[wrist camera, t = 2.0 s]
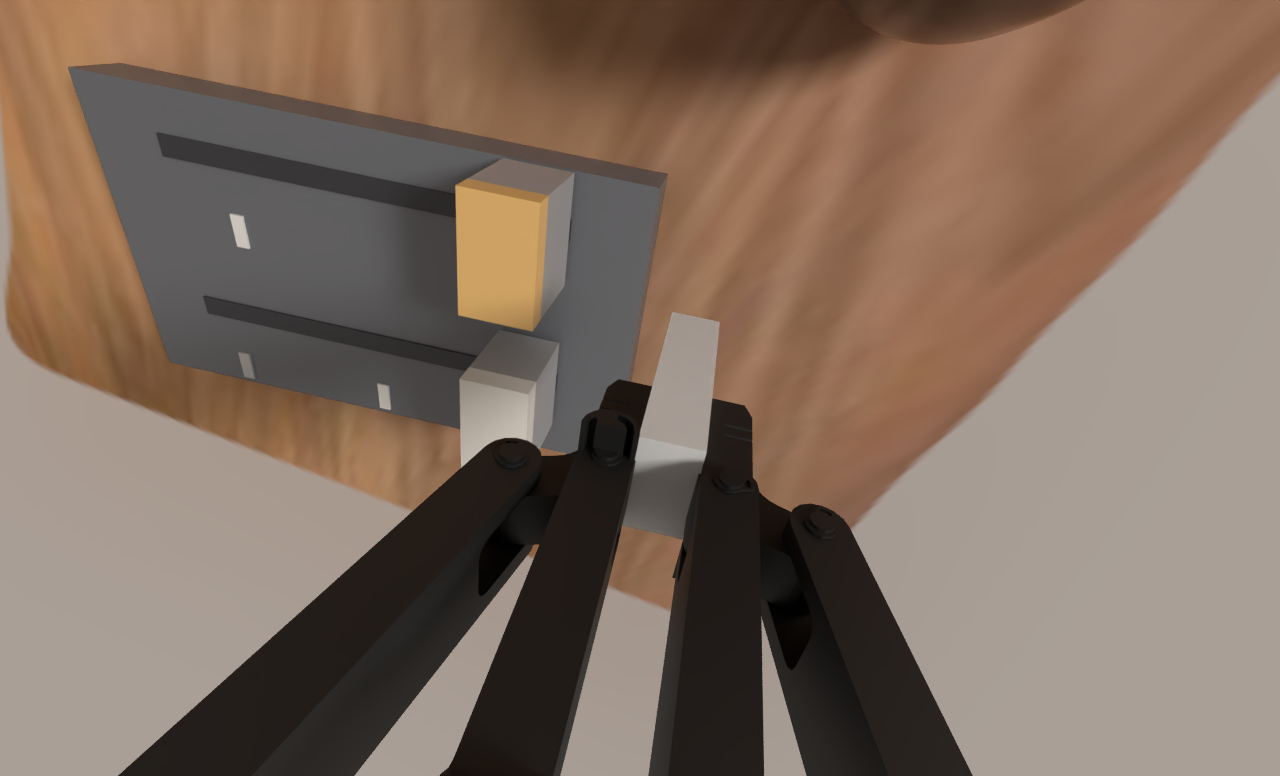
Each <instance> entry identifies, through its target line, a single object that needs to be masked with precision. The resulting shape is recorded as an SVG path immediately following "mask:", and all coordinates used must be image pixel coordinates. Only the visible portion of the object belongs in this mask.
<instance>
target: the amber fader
mask: <svg viewBox="0 0 1280 776" xmlns="http://www.w3.org/2000/svg"><path fill="white" fill-rule="evenodd" d="M574 174H575V173H574V172H569V171H564V170H559V169H554V168H549V167H545V166H540V165H535V164H530V163H525V162H520V161H515V160H510V159H505V158H503V159H501V160H499V161H497V162H496V163H494V164H492V165H490V166H488V167H487V168H485V169H483V170H481V171H480V172H478V173H476V174H474V175H473V176H471V177H469V178H467V179H466V180H464V181H462V182H460V183H459V184H457V185H455V189H456V237H457V286H458V315H459V316H464V317H469V318H473V319H478V320H482V321H487V322H491V323H496V324H500V325H505V326H510V327H514V328H519V329H523V330H528V331H532V332H533V330H534V329H535V327H536V326H537V324H538V323H539V322H540V320H541V319H542V317H543V316H544V314H545V313H546V312H547V310H548V309H549V307H550V306H551V304H552V303H553V301H554V300H555V299H556V297H557V296H558V294H559V293H560V291H561V290H562V289H563V287H564V285H565V274H566V263H567V252H568V241H569V230H570V218H571V207H572V196H573V185H574Z"/></svg>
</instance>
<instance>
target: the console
mask: <svg viewBox="0 0 1280 776" xmlns="http://www.w3.org/2000/svg"><path fill="white" fill-rule="evenodd" d="M68 70H69V73H70V75H71V78H72V81H73V84H74V87H75V90H76V93H77V96H78V99H79V101H80V104H81V107H82V110H83V113H84V116H85V119H86V122H87V125H88V127H89V130H90V133H91V136H92V139H93V142H94V145H95V148H96V151H97V154H98V156H99V159H100V162H101V165H102V168H103V171H104V174H105V177H106V180H107V182H108V185H109V188H110V191H111V194H112V197H113V200H114V203H115V206H116V208H117V211H118V214H119V217H120V220H121V223H122V226H123V229H124V232H125V235H126V237H127V240H128V243H129V246H130V249H131V252H132V255H133V258H134V261H135V263H136V266H137V269H138V272H139V275H140V278H141V281H142V284H143V287H144V289H145V292H146V295H147V298H148V301H149V304H150V307H151V310H152V313H153V316H154V318H155V321H156V324H157V327H158V330H159V333H160V336H161V339H162V342H163V344H164V347H165V350H166V353H167V356H168V359H169V362H171V363H175V364H180V365H184V366H188V367H193V368H197V369H201V370H206V371H210V372H215V373H219V374H223V375H228V376H232V377H236V378H241V379H245V380H249V381H254V382H258V383H262V384H267V385H271V386H275V387H280V388H284V389H289V390H293V391H297V392H302V393H306V394H310V395H315V396H319V397H323V398H328V399H332V400H336V401H341V402H345V403H349V404H354V405H358V406H363V407H367V408H371V409H376V410H380V411H384V412H389V413H393V414H397V415H402V416H406V417H410V418H415V419H419V420H424V421H428V422H432V423H437V424H441V425H445V426H450V427H454V428H458V429H460V382H459V379H460V378H461V376H462V375H463V374H464V373H465V371H466V370H467V369H468V368H469V367H470V365H471V364H472V363H473V362H474V360H475V359H476V358H477V357H478V355H479V354H480V353H481V352H482V350H483V349H484V348H485V347H486V345H487V344H488V343H489V342H490V341H491V339H492V338H493V337H494V336H495V334H496V333H497V332H498V331H499V330H503V331H508V332H512V333H517V334H521V335H526V336H530V337H535V338H539V339H544V340H548V341H553V342H558V343H559V352H558V363H557V374H556V386H555V397H554V408H553V419H552V426H551V428H550V430H549V432H548V434H547V436H546V438H545V440H544V442H543V444H542V446H541V448H545V449H550V450H554V451H559V452H563V453H567V454H570V453H572V452H574V451H577V450H578V444H579V436H580V428H581V420H582V419H583V418H584V417H585V416H586V414H588V413H591V412H593V411H595V410H598V409H599V407H600V404H601V402H602V400H603V397H604V394H605V392H606V389H607V387H608V386H610V385H611V384H612V383H614V382H615V381H616V380H618V379H620V380H625V381H629V382H631V379H632V373H633V367H634V362H635V356H636V350H637V345H638V339H639V333H640V327H641V322H642V316H643V310H644V305H645V299H646V293H647V288H648V282H649V276H650V271H651V265H652V259H653V254H654V248H655V242H656V237H657V231H658V225H659V220H660V214H661V208H662V202H663V197H664V191H665V185H666V180H667V174H664V173H659V172H654V171H649V170H644V169H640V168H635V167H630V166H625V165H620V164H615V163H610V162H605V161H600V160H595V159H590V158H585V157H580V156H576V155H571V154H566V153H561V152H556V151H551V150H546V149H541V148H536V147H531V146H526V145H521V144H516V143H512V142H507V141H502V140H497V139H492V138H487V137H482V136H477V135H472V134H467V133H462V132H457V131H452V130H448V129H443V128H438V127H433V126H428V125H423V124H418V123H413V122H408V121H403V120H398V119H393V118H388V117H383V116H379V115H374V114H369V113H364V112H359V111H354V110H349V109H344V108H339V107H334V106H329V105H324V104H319V103H315V102H310V101H305V100H300V99H295V98H290V97H285V96H280V95H275V94H270V93H265V92H260V91H255V90H251V89H246V88H241V87H236V86H231V85H226V84H221V83H216V82H211V81H206V80H201V79H196V78H191V77H187V76H182V75H177V74H172V73H167V72H162V71H157V70H152V69H147V68H142V67H137V66H132V65H127V64H122V63H114V64H101V65H87V66H74V67H68ZM503 158H505V159H510V160H515V161H520V162H525V163H530V164H535V165H540V166H545V167H549V168H554V169H559V170H564V171H569V172H574V173H575V174H574V185H573V196H572V207H571V218H570V230H569V241H568V252H567V263H566V274H565V285H564V287H563V289H562V290H561V291H560V293H559V294H558V296H557V297H556V299H555V300H554V301H553V303H552V304H551V306H550V307H549V309H548V310H547V312H546V313H545V314H544V316H543V317H542V319H541V320H540V322H539V323H538V324H537V326H536V327H535V329H534V330H533V332H532V331H528V330H523V329H519V328H514V327H510V326H505V325H500V324H496V323H491V322H487V321H482V320H478V319H473V318H469V317H464V316H459V315H458V286H457V237H456V189H455V185H457V184H459V183H460V182H462V181H464V180H466V179H467V178H469V177H471V176H473V175H474V174H476V173H478V172H480V171H481V170H483V169H485V168H487V167H488V166H490V165H492V164H494V163H496V162H497V161H499V160H501V159H503Z"/></svg>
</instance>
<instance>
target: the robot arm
mask: <svg viewBox="0 0 1280 776" xmlns="http://www.w3.org/2000/svg"><path fill="white" fill-rule="evenodd" d="M719 325H720V322H717V321H712V320H707V319H703V318H698V317H693V316H689V315H684V314H679V313H675V312H672V315H671V319H670V323H669V326H668V330H667V334H666V337H665V341H664V345H663V349H662V352H661V356H660V360H659V363H658V367H657V371H656V375H655V378H654V382H653V386H648V385H643V384H638V383H634V382H629V381H625V380H620V379H618V380H616V381H615V382H614V383H612V384H611V385H610V386H608V387H607V389H606V392H605V394H604V397H603V400H602V402H601V404H600V407H599V409H598V410H595V411H593V412H591V413H588V414H586V416H585V417H584V418H583V419H582V420H581V428H580V436H579V444H578V450H577V451H574V452H572V453H570V454H566V455H559V456H541V452H540V451H539V449H538V448H537V446H536V445H534V444H532V443H531V442H529V441H527V440H523V439H519V438H503V439H499V440H495V441H493V442H491V443H490V444H488V445H486V446H485V447H484V448H483V449H482V450H481V451H479V452H478V453H477V454H476V455H475V456H474V457H473V458H472V459H470V460H469V461H468V462H467V463H466V464H465V465H464V466H463V467H462V468H460V469H459V470H458V471H457V472H456V473H455V474H454V475H453V476H452V477H450V478H449V479H448V480H447V481H446V482H445V483H444V484H443V485H442V486H440V487H439V488H438V489H437V490H436V491H435V492H434V493H433V494H431V495H430V496H429V497H428V498H427V499H426V500H425V501H424V502H423V503H421V504H420V505H419V506H418V507H417V508H416V509H415V510H414V511H413V512H411V513H410V514H409V515H408V516H407V517H406V518H405V519H404V520H403V521H401V522H400V523H399V524H398V525H397V526H396V527H395V528H394V529H393V530H391V531H390V532H389V533H388V534H387V535H386V536H385V537H384V538H382V539H381V540H380V541H379V542H378V543H377V544H376V545H375V546H374V547H372V548H371V549H370V550H369V551H368V552H367V553H366V554H365V555H364V556H362V557H361V558H360V559H359V560H358V561H357V562H356V563H355V564H354V565H352V566H351V567H350V568H349V569H348V570H347V571H346V572H345V573H343V574H342V575H341V576H340V577H339V578H338V579H337V580H336V581H335V582H334V583H332V584H331V585H330V586H329V587H328V588H327V589H326V590H325V591H323V592H322V593H321V594H320V595H319V596H318V597H317V598H316V599H315V600H313V601H312V602H311V603H310V604H309V605H308V606H307V607H306V608H305V609H303V610H302V611H301V612H300V613H299V614H298V615H297V616H296V617H295V618H293V619H292V620H291V621H290V622H289V623H288V624H287V625H285V626H284V627H283V628H282V629H281V630H280V631H279V632H278V633H277V634H276V635H274V636H273V637H272V638H271V639H270V640H269V641H268V642H267V643H265V644H264V645H263V646H262V647H261V648H260V649H259V650H258V651H257V652H255V654H253V655H252V656H251V657H250V658H249V659H248V660H246V661H245V662H244V663H243V664H242V665H241V666H240V667H239V668H238V669H236V670H235V671H234V672H233V673H232V674H231V675H230V676H229V677H228V678H226V680H224V681H223V682H222V683H221V684H220V685H219V686H218V687H216V688H215V689H214V690H213V691H212V692H211V693H210V694H209V695H208V696H206V697H205V698H204V699H203V700H202V701H201V702H200V703H199V704H198V705H196V706H195V707H194V708H193V709H192V710H191V711H190V712H189V713H187V715H185V716H184V717H183V718H182V719H181V720H180V721H179V722H177V724H175V725H174V726H173V727H172V728H171V729H170V730H168V731H167V732H166V733H165V734H164V735H163V736H162V737H161V738H160V739H159V740H157V741H156V742H155V743H154V744H153V745H152V746H151V747H150V748H148V749H147V750H146V751H145V752H144V753H143V754H142V755H141V756H140V757H139V758H137V759H136V760H135V761H134V762H133V763H132V764H131V765H130V766H128V767H127V768H126V769H125V770H124V771H123V772H122V773H121V774H119V775H118V776H354V775H355V774H356V773H357V771H358V770H359V769H360V768H361V766H362V765H363V764H364V762H365V761H366V760H367V759H368V757H369V756H370V755H371V754H372V752H373V751H374V750H375V749H376V747H377V746H378V745H379V743H380V742H381V741H382V740H383V738H384V737H385V736H386V735H387V733H388V732H389V731H390V729H391V728H392V727H393V726H394V724H395V723H396V721H398V719H399V718H400V717H401V715H402V714H403V713H404V712H405V710H406V709H407V708H408V706H409V705H410V704H411V703H412V701H413V700H414V699H415V698H416V696H417V695H418V694H419V692H420V691H421V690H422V689H423V687H424V686H425V685H426V684H427V682H428V681H429V680H430V678H431V677H432V676H433V675H434V673H435V672H436V671H437V670H438V668H439V667H440V666H441V664H442V663H443V662H444V661H445V659H446V658H447V657H448V656H449V654H450V653H451V652H452V650H453V649H454V648H455V647H456V645H457V644H458V643H459V642H460V640H461V639H462V638H463V636H464V635H465V634H466V633H467V631H468V630H469V629H470V628H471V626H472V625H473V624H474V622H475V621H476V620H477V619H478V617H479V616H480V615H481V614H482V612H483V611H484V610H485V608H486V607H487V606H488V605H489V603H490V602H491V601H492V599H493V598H494V597H495V596H496V594H497V593H498V592H499V591H500V589H501V588H502V587H503V585H504V584H505V583H506V582H507V580H508V579H509V578H510V577H511V575H512V574H513V573H514V571H515V570H516V569H517V567H518V566H519V565H520V564H521V563H522V561H523V560H524V559H525V557H526V556H527V555H528V554H529V552H530V551H531V549H532V547H533V545H534V544H540V545H539V547H538V550H537V552H536V555H535V557H534V560H533V562H532V565H531V567H530V570H529V572H528V575H527V577H526V580H525V582H524V585H523V587H522V590H521V592H520V595H519V597H518V600H517V602H516V605H515V607H514V610H513V612H512V615H511V617H510V620H509V622H508V625H507V627H506V629H505V632H504V634H503V637H502V640H501V642H500V644H499V647H498V650H497V652H496V655H495V657H494V659H493V662H492V664H491V667H490V669H489V672H488V675H487V677H486V679H485V682H484V684H483V687H482V689H481V692H480V694H479V697H478V699H477V702H476V704H475V707H474V709H473V712H472V714H471V717H470V719H469V722H468V724H467V727H466V729H465V732H464V734H463V737H462V739H461V742H460V744H459V747H458V749H457V752H456V754H455V756H454V759H453V761H452V762H451V764H450V766H449V768H448V769H446V770H445V771H444V772H443V773H441V774H440V776H560V774H561V770H562V766H563V762H564V758H565V754H566V750H567V746H568V742H569V738H570V734H571V730H572V726H573V722H574V718H575V714H576V710H577V706H578V702H579V698H580V694H581V690H582V686H583V682H584V678H585V674H586V670H587V666H588V662H589V658H590V654H591V650H592V646H593V642H594V638H595V634H596V630H597V626H598V622H599V618H600V614H601V610H602V606H603V602H604V598H605V594H606V590H607V586H608V582H609V578H610V574H611V570H612V566H613V562H614V558H615V554H616V550H617V546H618V542H619V537H620V532H621V527H622V525H623V526H628V527H632V528H636V529H640V530H645V531H649V532H653V533H658V534H662V535H666V536H670V537H675V538H679V539H682V538H683V542H682V546H681V549H680V553H679V556H678V560H677V563H676V567H675V570H674V574H673V577H672V578H676V579H675V586H674V593H673V601H672V608H671V615H670V623H669V630H668V637H667V645H666V652H665V660H664V667H663V674H662V681H661V688H660V695H659V703H658V711H657V717H656V725H655V732H654V739H653V747H652V754H651V761H650V768H649V776H764V748H763V747H764V746H763V694H762V693H763V691H762V637H761V636H762V631H761V616H762V620H763V623H764V627H765V630H766V634H767V637H768V641H769V644H770V648H771V652H772V655H773V658H774V662H775V666H776V669H777V673H778V676H779V680H780V683H781V687H782V690H783V694H784V697H785V701H786V705H787V708H788V712H789V715H790V719H791V722H792V725H793V729H794V732H795V736H796V740H797V743H798V747H799V750H800V754H801V758H802V761H803V765H804V768H805V772H806V775H807V776H972V774H971V771H970V769H969V767H968V765H967V764H966V761H965V759H964V757H963V755H962V753H961V751H960V749H959V748H958V745H957V743H956V741H955V739H954V737H953V735H952V733H951V731H950V729H949V727H948V725H947V723H946V721H945V719H944V717H943V715H942V713H941V711H940V709H939V707H938V705H937V703H936V701H935V699H934V697H933V695H932V693H931V691H930V689H929V687H928V685H927V683H926V681H925V679H924V677H923V675H922V673H921V671H920V669H919V667H918V665H917V663H916V661H915V659H914V657H913V655H912V653H911V651H910V649H909V647H908V645H907V643H906V641H905V639H904V636H903V635H902V632H901V630H900V628H899V626H898V624H897V622H896V620H895V618H894V616H893V614H892V612H891V610H890V608H889V606H888V604H887V602H886V600H885V598H884V596H883V594H882V592H881V590H880V588H879V586H878V584H877V582H876V580H875V578H874V576H873V574H872V572H871V570H870V568H869V566H868V564H867V562H866V560H865V558H864V556H863V554H862V552H861V550H860V548H859V546H858V544H857V542H856V540H855V538H854V536H853V534H852V532H851V530H850V528H849V526H848V525H847V523H846V522H845V521H844V519H843V518H841V517H840V516H839V515H838V514H836V513H835V512H834V511H832V510H830V509H828V508H825V507H823V506H820V505H815V504H803V505H799V506H797V507H796V508H794V509H793V511H792V512H790V511H788V510H786V509H784V508H782V507H779V506H777V505H776V504H774V503H772V502H770V501H769V500H768V499H766V498H765V497H764V496H763V495H762V494H761V493H760V492H759V488H758V485H757V482H756V481H755V480H754V478H753V463H752V417H751V415H750V414H749V412H748V410H747V409H746V407H745V406H744V405H739V404H735V403H730V402H726V401H721V400H717V399H712V395H713V385H714V375H715V365H716V355H717V345H718V335H719ZM683 534H684V537H683Z"/></svg>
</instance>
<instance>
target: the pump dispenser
mask: <svg viewBox="0 0 1280 776" xmlns="http://www.w3.org/2000/svg"><path fill="white" fill-rule="evenodd" d="M833 1H834V2H835V3H836V4H837V5H838V6H839V7H840V8H841V9H842V10H843V11H844V12H846V13H847V14H848V15H849V16H850V17H852V18H853V19H854V20H856V21H857V22H859V23H860V24H862V25H863V26H865V27H867V28H869V29H871V30H873V31H875V32H877V33H879V34H882V35H884V36H887V37H890V38H893V39H897V40H901V41H905V42H911V43H918V44H931V45H945V44H958V43H966V42H972V41H978V40H982V39H987V38H991V37H994V36H998V35H1001V34H1005V33H1008V32H1011V31H1014V30H1017V29H1020V28H1023V27H1025V26H1028V25H1031V24H1034V23H1036V22H1039V21H1041V20H1044V19H1046V18H1049V17H1051V16H1054V15H1056V14H1058V13H1060V12H1062V11H1065V10H1067V9H1069V8H1071V7H1073V6H1075V5H1077V4H1079V3H1081V2H1083V1H1085V0H833Z"/></svg>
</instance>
